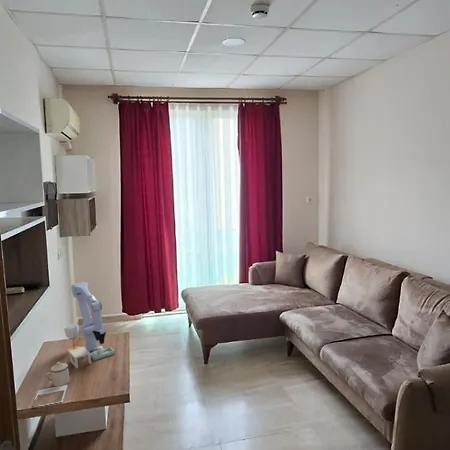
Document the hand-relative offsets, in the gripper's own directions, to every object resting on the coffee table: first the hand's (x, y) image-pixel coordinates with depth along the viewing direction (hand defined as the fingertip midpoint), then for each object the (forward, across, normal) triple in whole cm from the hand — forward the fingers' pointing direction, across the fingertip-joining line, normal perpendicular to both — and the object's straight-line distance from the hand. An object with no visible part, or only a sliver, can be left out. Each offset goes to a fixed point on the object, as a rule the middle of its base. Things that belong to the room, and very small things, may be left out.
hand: (100, 341), depth 259 cm
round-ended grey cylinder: (+8, 0, 0) cm, 8 cm away
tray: (+9, 0, 0) cm, 9 cm away
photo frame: (+10, +30, -37) cm, 49 cm away
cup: (+9, -24, -11) cm, 28 cm away
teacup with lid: (+9, +18, -30) cm, 36 cm away
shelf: (+9, 0, -13) cm, 16 cm away
